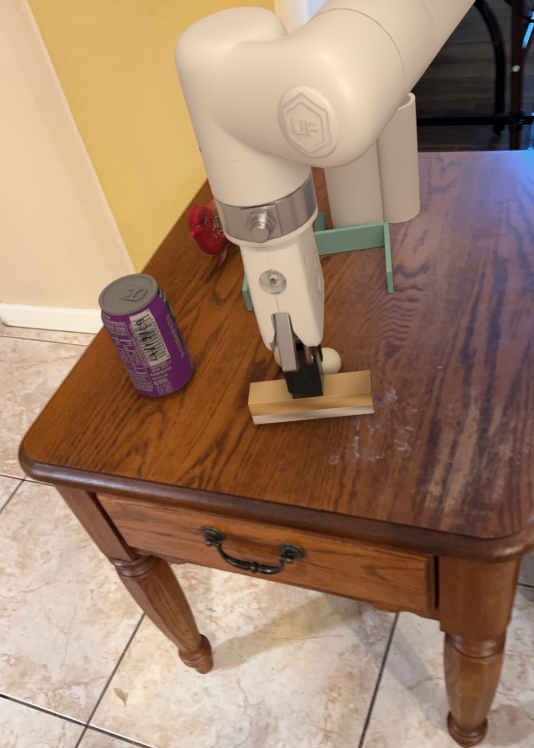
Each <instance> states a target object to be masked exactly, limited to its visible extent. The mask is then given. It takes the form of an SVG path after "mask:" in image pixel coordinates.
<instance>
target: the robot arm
mask: <svg viewBox="0 0 534 748" xmlns="http://www.w3.org/2000/svg"><path fill="white" fill-rule="evenodd" d="M475 2H476V0H327V1H326V2H325V3H324V4H323V5H322V6H321V7H320V8H319V9H318V10H317V11H316V12H315V13H314V14H313V15H312V16H311V18H310V19H308V21H307V22H305V23H303V24H302V25H301V26H299V27H298V28H295V30H293V31H291V32H289V33H288V31H287V28H286V25H285V24H284V22H283V20H282V19H281V18H280V16H279V15H278V14H277V13H275V12H274V11H272V10H270V9H268V8H265V7H262V6H238V7H231V8H227V9H222V10H220V11H217V12H213V13H211V14H209V15H207V16H206V15H205V17H203V18H201V19H199V20H197V21H195V22H194V23H192V24H191V25H190V26H188V27H187V28H186V29H185V30H184V31H183V32H182V34H180V36H179V38H178V40H177V41H176V45H175V48H174V66H175V69H176V73H177V77H178V81H179V85H180V88H181V92H182V95H183V98H184V102H185V106H186V108H187V111H188V115H189V119H190V122H191V126H192V129H193V132H194V135H195V139H196V143H197V147H198V149H199V153H200V156H201V159H202V163H203V166H204V170H205V173H206V177H207V180H208V185H209V187H210V190H211V193H212V197H213V199H214V201H215V204H216V208H217V211H218V215H219V218H220V221H221V225H222V228H223V232H224V234H225V236H226V238H227V239H228V240H229V242H231V243H232V244H235V245H236V246H238V247H239V250H240V254H241V260H242V264H243V272H244V275H245V274H246V278H247V283H248V287H249V291H250V295H251V300H252V304H253V311H254V315H255V320H256V323H257V326H258V331H259V333H260V336H261V339H262V342H263V344H264V347H266V349H267V350H269V351H271V352H273V351H275V348H276V346H277V348H278V352H279V356H280V360H281V365H282V367H281V369H282V373H283V377H284V379H285V381H286V384H287V388H288V392H289V393H291V394H297V393H307V392H316V391H321V390H322V381H321V376H320V371H319V366H318V362H317V357H316V355H315V356H313V354H312V349H311V346H318V347H319V352H320V357H321V362H322V361H323V354H322V349H321V348H322V345H321V342H322V341H323V338H324V327H325V326H324V323H325V278H324V272H323V269H322V264H321V260H320V255H318V250H317V246H316V241H315V237H314V232H313V230H314V227H313V225H314V221H315V219H316V217H317V214H318V212H319V207H318V201H317V194H316V189H315V188H316V187H315V182H314V177H313V171H312V167H314V168H319V169H324V168H338V167H343V166H346V165H349V164H351V163H353V162H355V161H357V160H358V159H359V158H361V157H362V156H363V155H364V154H365V153H366V152H367V151H368V150H369V149H370V148H371V147H372V146H373V144H374V143H375V142H376V140H377V139H378V137H379V136H380V134H381V133H382V132H383V130H384V129H385V127H386V126H387V125H388V123H389V122H390V120H391V119H392V118H393V116H394V114H395V113H396V111H397V110H398V108H399V107H400V105H401V104H402V102H403V101H404V100H405V98H406V97H407V95H408V94H409V93H411V91H412V90H413V88H414V87H415V86H416V84H417V83H418V82H419V80H420V79H421V78H422V76H423V75H424V73H425V72H426V71H427V69H428V68H429V66H430V65H431V63H433V61H434V59H435V58H436V56H437V55H438V53H439V52H440V51H441V49H442V48H443V46H444V45H445V44H446V42H447V41H448V40H449V38H450V36H451V35H452V34H453V32H454V31H455V30H456V28H457V27H458V26H459V24H460V23H461V21H462V20H463V18H464V17H465V16H466V14H467V13H468V12H469V10H470V8H471V7H472V6H473V4H475ZM299 343H302V344H303V349H304V351H303V350H298V351H296V345H295V344H299Z"/></svg>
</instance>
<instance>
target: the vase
mask: <svg viewBox="0 0 534 748" xmlns="http://www.w3.org/2000/svg"><path fill="white" fill-rule="evenodd" d="M323 172H324V178H325V185H326V191H327V198H328V205H329V209H330V210H329V211H330V217H331V218H330V219H331V223H332V229H338V228H345V227H352V226H359V225H365V224H372V223H379V222H386V221H389V224H402V223H406V222H408V221H412V220H413V219H414V218H416V217H417V216H418V215H419V214H420V212H421V198H420V197H421V196H420V176H419V175H420V173H419V153H418V131H417V109H416V96H415V94H414V93H413V92H410V93H409V94H408V95H407V97H406V98H405V100H404V101H403V102H402V104H401V105H400V107H399V108H398V110H397V111H396V113H395V114H394V116H393V118H392V119H391V120H390V122H389V123H388V125H387V126H386V127H385V129H384V130H383V132H382V133H381V134H380V136H379V137H378V139H377V140H376V142H375V143H374V144H373V146H372V147H371V148H370V149H369V150H368V151H367V152H366V153H365V154H364V155H363V156H362V157H361V158H359V159H358V160H357V161H355V162H353V163H351V164H349V165H346V166H343V167H338V168H323Z"/></svg>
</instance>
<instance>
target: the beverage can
mask: <svg viewBox="0 0 534 748" xmlns="http://www.w3.org/2000/svg"><path fill="white" fill-rule="evenodd" d="M97 301H98V306H99V308H100V319H101V322H102V324H103V326H104V328H105V330H106V333H107V334H108V337H109V339H110V340H111V343H112V344H113V347H114V348H115V351H116V353H117V355H118V357H119V359H120V361H121V363H122V365H123V367H124V369H125V371H126V373H127V375H128V377H129V380H130V381H131V383H132V385H133V387H134V389H135V390H136V391H137V392H138V393H139V394H141V395H143V396H146V397H154V398H155V397H163V396H168V395H170V394H173V393H175V392H176V391H179V390H180V389H181V388H183V387H184V386H185V385H186V384H187V383H188V382H189V380H190V379H191V378H192V376H193V374H194V370H195V365H194V362H193V359H192V356H191V353H190V351H189V348H188V345H187V344H186V341H185V339H184V336H183V333H182V331H181V328H180V326H179V323H178V322H177V319H176V315H175V313H174V310H173V308H172V305H171V303H170V301H169V298H168V296H167V293H166V291H164V289H162V288H161V287H160V286H159V285H158V283H157V280H156V278H154V277H153V276H152V275H150V274H147V273H131V274H127V275H123V276H121V277H118V278H117V279H115V280H113V281H111V282H110V283H108V284H107V285H106V286H105V287H104V288H103V289H102V290H101V292H100V294H99V296H98V299H97Z"/></svg>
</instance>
